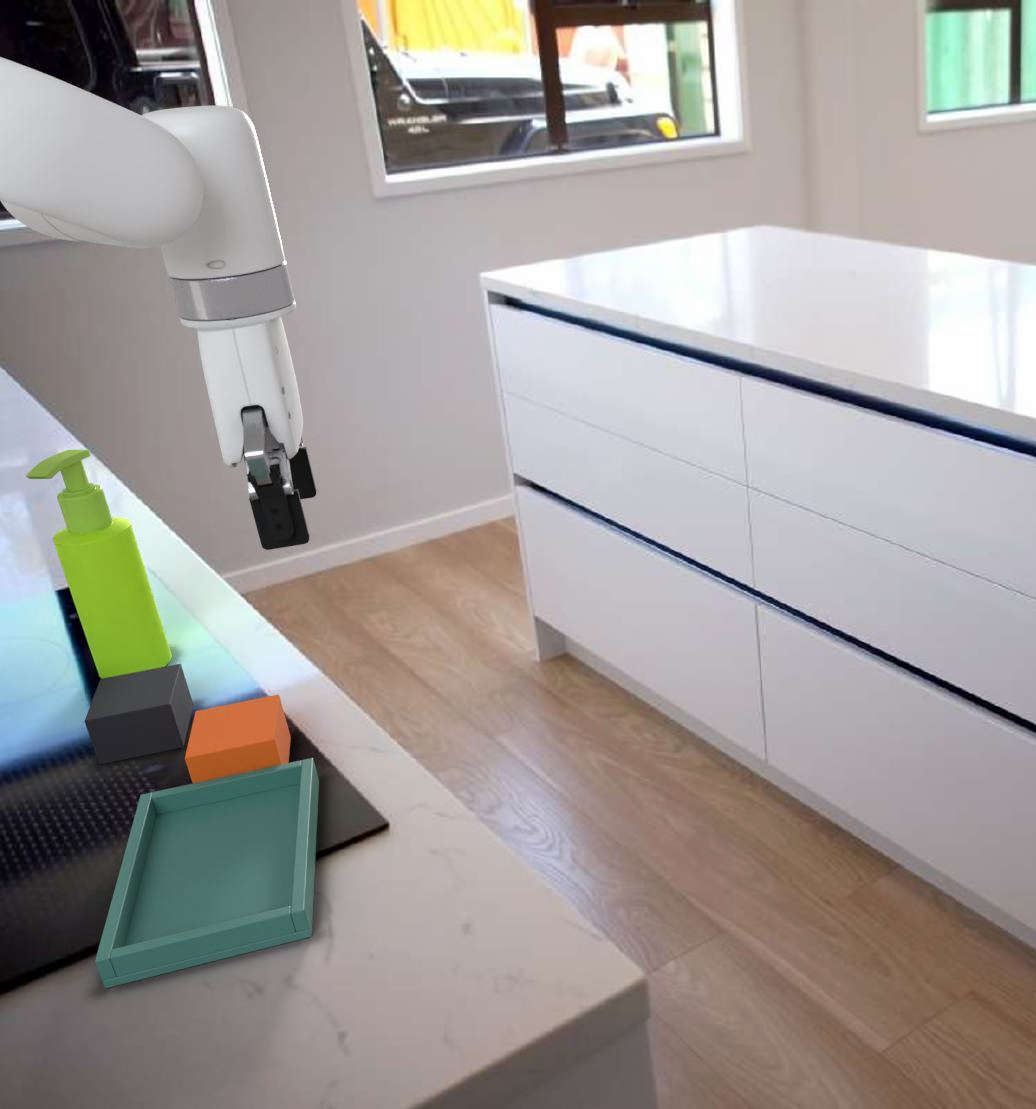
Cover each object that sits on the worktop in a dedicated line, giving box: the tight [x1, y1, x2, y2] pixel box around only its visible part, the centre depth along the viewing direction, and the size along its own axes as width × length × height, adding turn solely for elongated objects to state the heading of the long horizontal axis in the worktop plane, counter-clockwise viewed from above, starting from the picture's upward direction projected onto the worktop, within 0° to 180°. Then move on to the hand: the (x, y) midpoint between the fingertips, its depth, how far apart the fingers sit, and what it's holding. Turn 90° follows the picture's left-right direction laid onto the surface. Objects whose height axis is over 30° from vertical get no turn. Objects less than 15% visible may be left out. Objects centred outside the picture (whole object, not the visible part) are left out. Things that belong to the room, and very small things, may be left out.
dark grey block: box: [83, 663, 194, 765], centre depth 100 cm, size 6×7×4 cm
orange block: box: [184, 694, 292, 784], centre depth 95 cm, size 6×7×4 cm
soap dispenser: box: [25, 449, 173, 679], centre depth 107 cm, size 6×7×20 cm
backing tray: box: [94, 757, 320, 989], centre depth 84 cm, size 12×18×2 cm, turn 19°
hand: (291, 521), depth 95 cm, fingers open, 9 cm apart
